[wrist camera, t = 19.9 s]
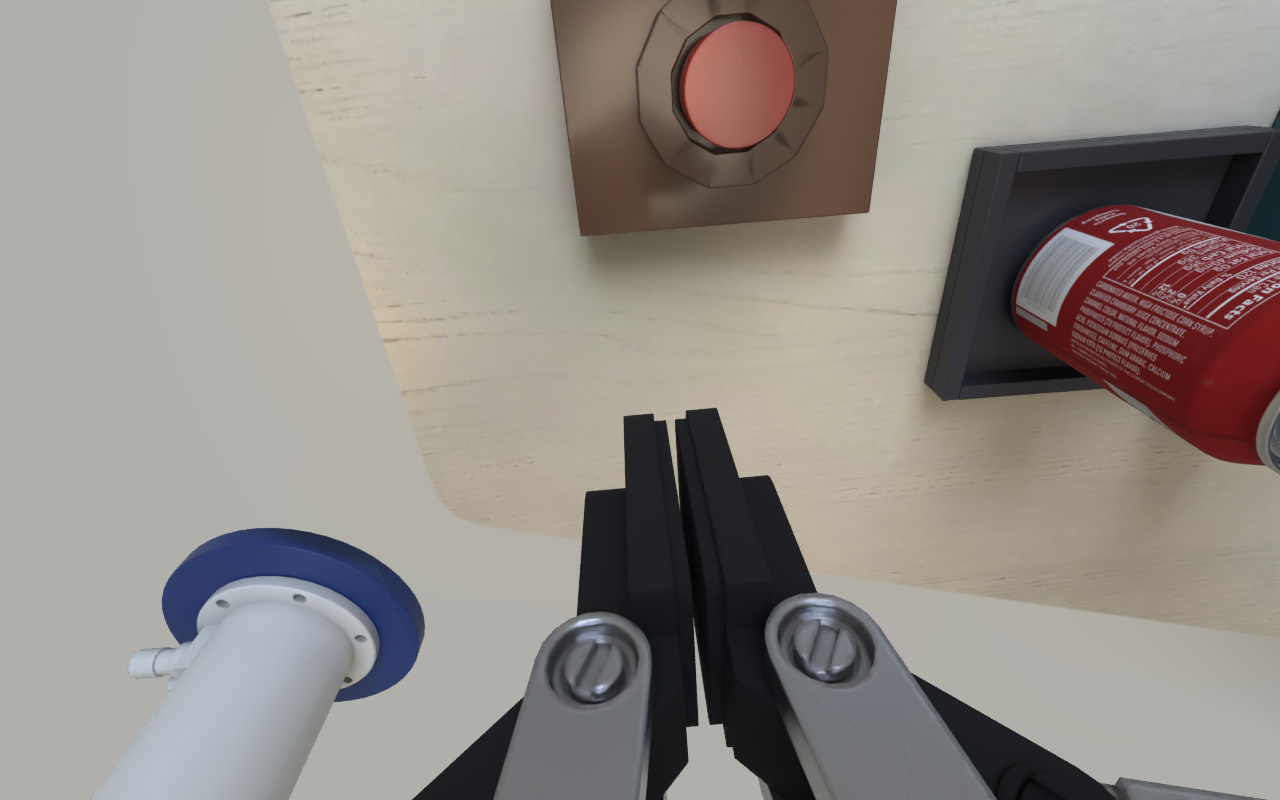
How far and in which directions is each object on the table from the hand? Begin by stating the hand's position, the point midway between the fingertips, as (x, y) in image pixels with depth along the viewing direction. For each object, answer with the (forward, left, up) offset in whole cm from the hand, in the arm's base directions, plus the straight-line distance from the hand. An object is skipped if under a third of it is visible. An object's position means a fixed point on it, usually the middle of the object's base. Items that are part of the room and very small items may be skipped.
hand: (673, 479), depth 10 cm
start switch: (+3, +6, -18) cm, 19 cm away
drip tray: (+20, -3, -18) cm, 27 cm away
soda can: (+20, -3, -17) cm, 27 cm away
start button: (+3, +6, -14) cm, 16 cm away
